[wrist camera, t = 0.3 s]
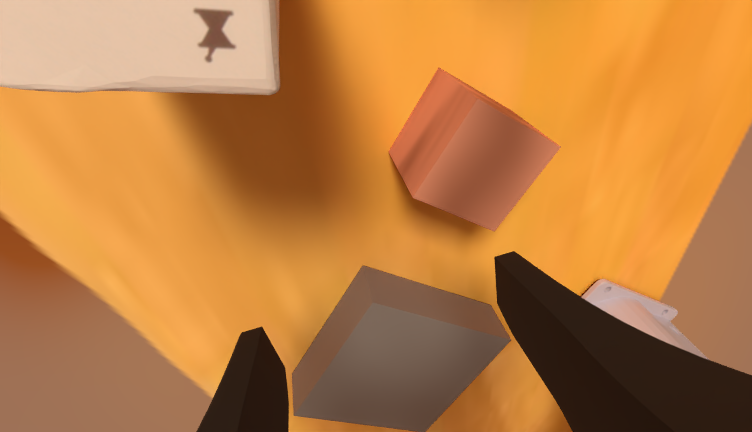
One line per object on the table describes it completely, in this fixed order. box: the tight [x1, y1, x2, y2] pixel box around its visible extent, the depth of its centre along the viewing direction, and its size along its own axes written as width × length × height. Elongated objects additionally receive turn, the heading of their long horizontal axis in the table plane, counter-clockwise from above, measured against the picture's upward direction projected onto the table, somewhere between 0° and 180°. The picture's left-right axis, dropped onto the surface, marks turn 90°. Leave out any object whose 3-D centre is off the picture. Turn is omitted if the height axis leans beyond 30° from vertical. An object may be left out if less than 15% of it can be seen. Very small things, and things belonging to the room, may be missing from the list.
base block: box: [292, 266, 511, 432], centre depth 27 cm, size 10×10×3 cm
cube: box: [389, 68, 561, 231], centre depth 19 cm, size 4×4×4 cm
